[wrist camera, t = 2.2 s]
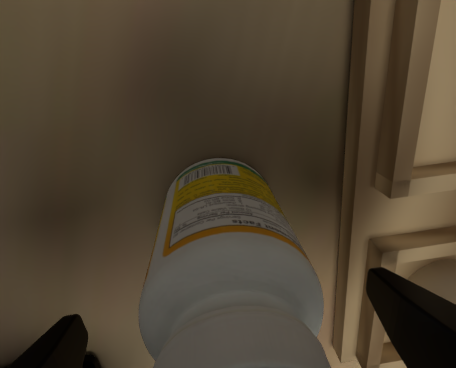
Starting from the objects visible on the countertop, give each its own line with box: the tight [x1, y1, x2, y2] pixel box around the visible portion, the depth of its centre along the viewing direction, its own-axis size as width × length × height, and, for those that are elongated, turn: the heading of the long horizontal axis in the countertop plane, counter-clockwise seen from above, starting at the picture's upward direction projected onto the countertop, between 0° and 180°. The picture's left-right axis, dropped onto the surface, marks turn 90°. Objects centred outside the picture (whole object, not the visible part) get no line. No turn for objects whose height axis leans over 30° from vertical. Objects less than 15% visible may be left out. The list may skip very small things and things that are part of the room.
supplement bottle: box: [139, 158, 331, 368], centre depth 10 cm, size 5×5×10 cm
